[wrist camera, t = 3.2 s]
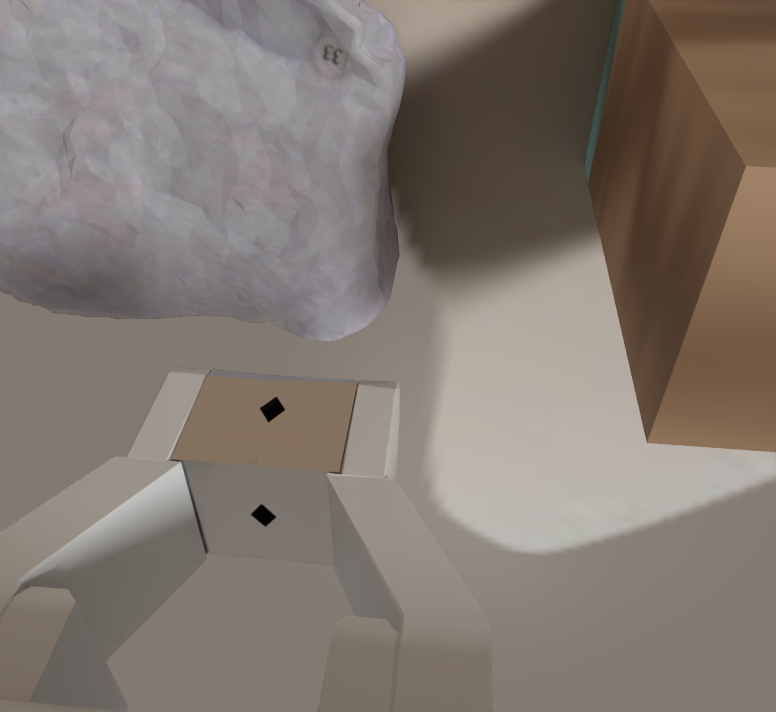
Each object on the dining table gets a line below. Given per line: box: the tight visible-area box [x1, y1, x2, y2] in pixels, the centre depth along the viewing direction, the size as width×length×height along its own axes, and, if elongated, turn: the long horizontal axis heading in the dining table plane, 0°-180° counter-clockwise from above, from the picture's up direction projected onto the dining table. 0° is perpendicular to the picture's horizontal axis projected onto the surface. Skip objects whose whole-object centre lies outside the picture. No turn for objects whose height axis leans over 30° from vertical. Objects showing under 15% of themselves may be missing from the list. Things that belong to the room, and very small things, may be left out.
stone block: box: [0, 0, 406, 341], centre depth 19 cm, size 12×5×10 cm
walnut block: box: [584, 0, 776, 452], centre depth 14 cm, size 5×5×10 cm
